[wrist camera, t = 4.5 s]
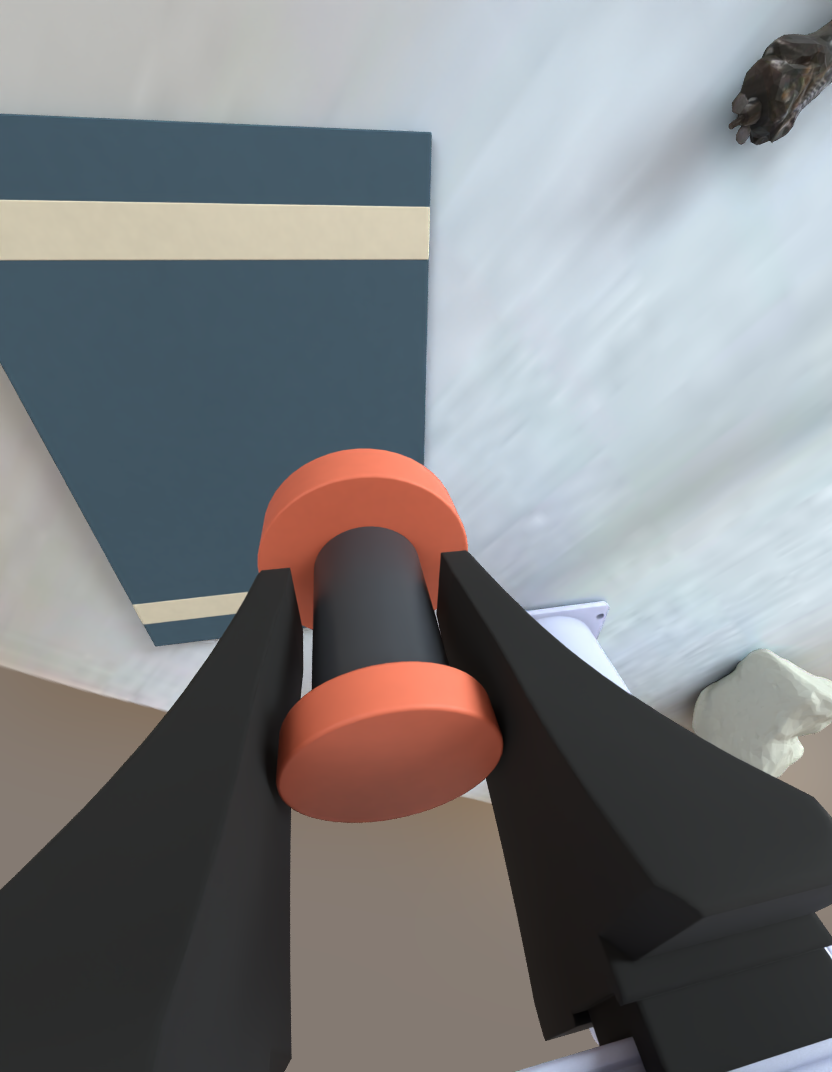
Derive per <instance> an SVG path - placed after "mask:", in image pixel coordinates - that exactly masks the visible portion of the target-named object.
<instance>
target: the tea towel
mask: <svg viewBox="0 0 832 1072" xmlns="http://www.w3.org/2000/svg"><path fill="white" fill-rule="evenodd" d="M431 139H432V134H431V132H411V131H388V130H365V129H342V128H319V127H295V126H272V125H249V124H226V123H203V122H179V121H156V120H133V119H110V118H87V117H63V116H40V115H17V114H0V363H1V365H2V367H3V369H4V370H5V372H6V374H7V376H8V378H9V380H10V381H11V383H12V385H13V387H14V389H15V391H16V392H17V394H18V396H19V398H20V400H21V402H22V403H23V405H24V407H25V409H26V411H27V413H28V414H29V416H30V418H31V420H32V422H33V424H34V425H35V427H36V429H37V431H38V433H39V434H40V436H41V438H42V440H43V442H44V444H45V445H46V447H47V449H48V451H49V453H50V455H51V456H52V458H53V460H54V462H55V464H56V466H57V467H58V469H59V471H60V473H61V475H62V477H63V478H64V480H65V482H66V484H67V486H68V488H69V489H70V491H71V493H72V495H73V497H74V499H75V500H76V502H77V504H78V506H79V508H80V509H81V511H82V513H83V515H84V517H85V519H86V520H87V522H88V524H89V526H90V528H91V530H92V531H93V533H94V535H95V537H96V539H97V541H98V542H99V544H100V546H101V548H102V550H103V552H104V553H105V555H106V557H107V559H108V561H109V563H110V564H111V566H112V568H113V570H114V572H115V573H116V575H117V577H118V579H119V581H120V583H121V584H122V586H123V588H124V590H125V592H126V594H127V595H128V597H129V599H130V601H131V603H132V605H133V607H134V609H135V611H136V612H137V614H138V616H139V618H140V620H141V622H142V623H143V625H144V627H145V628H146V630H147V632H148V634H149V636H150V637H151V639H152V641H153V643H154V645H155V646H163V645H171V644H179V643H187V642H195V641H203V640H211V639H219V638H221V637H222V635H223V634H224V632H225V630H226V629H227V627H228V626H229V624H230V623H231V621H232V619H233V618H234V616H235V614H236V613H237V611H238V609H239V607H240V606H241V604H242V602H243V601H244V599H245V597H246V595H247V593H248V592H249V590H250V588H251V586H252V584H253V582H254V580H255V578H256V576H257V575H258V574H259V571H258V551H259V545H260V540H261V534H262V529H263V523H264V518H265V513H266V510H267V507H268V505H269V502H270V500H271V499H272V497H273V495H274V493H275V492H276V490H277V489H278V488H279V487H280V485H281V484H282V483H283V482H284V481H285V480H286V479H287V478H288V477H289V476H290V475H291V474H292V473H293V472H295V471H296V470H298V469H299V468H300V467H302V466H303V465H305V464H307V463H309V462H311V461H313V460H315V459H317V458H319V457H322V456H324V455H327V454H330V453H334V452H338V451H342V450H350V449H378V450H386V451H390V452H394V453H398V454H401V455H403V456H406V457H408V458H411V459H413V460H414V461H416V462H418V463H420V464H422V465H423V466H424V430H425V389H426V347H427V305H428V264H429V227H430V180H431ZM302 628H307V627H305V626H303V625H302Z"/></svg>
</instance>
